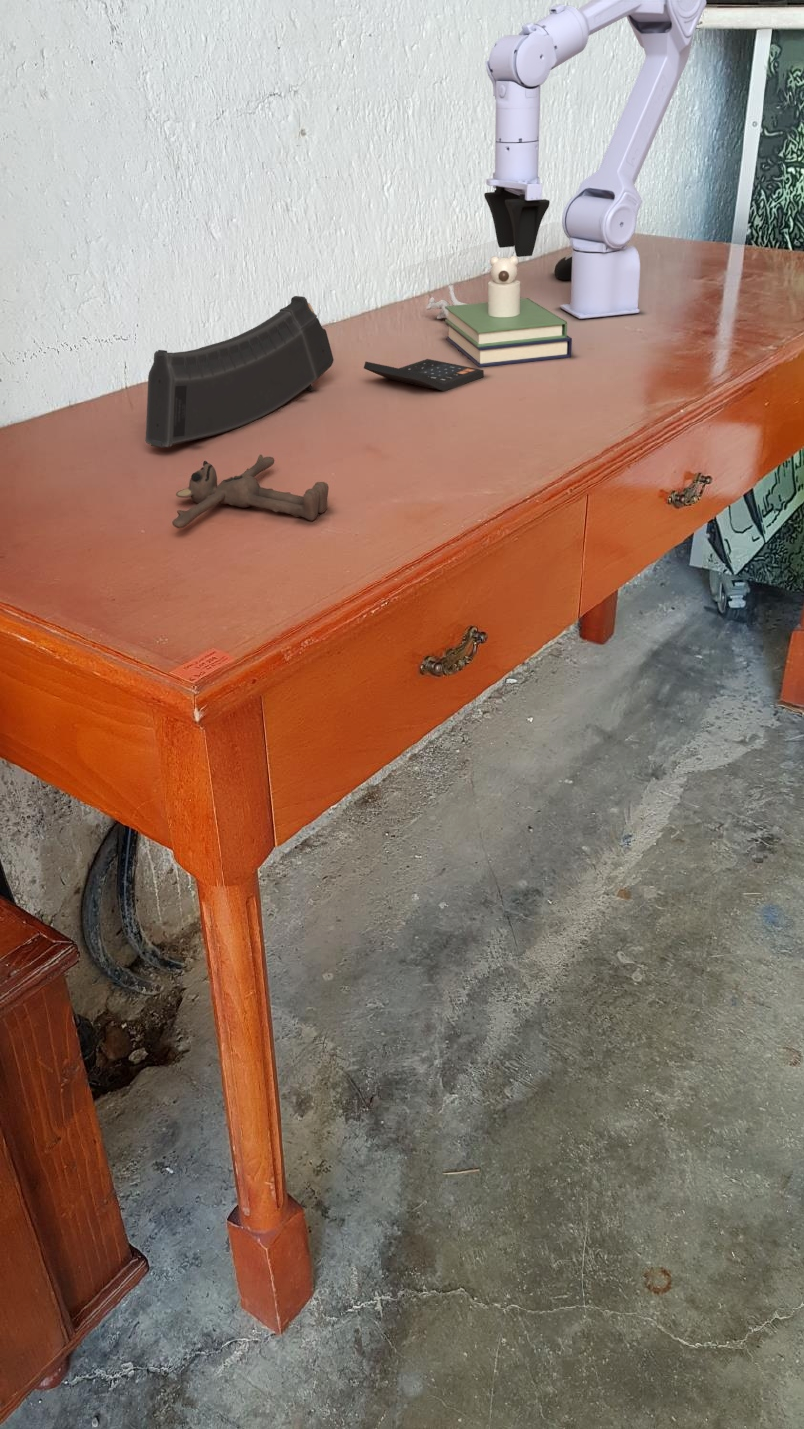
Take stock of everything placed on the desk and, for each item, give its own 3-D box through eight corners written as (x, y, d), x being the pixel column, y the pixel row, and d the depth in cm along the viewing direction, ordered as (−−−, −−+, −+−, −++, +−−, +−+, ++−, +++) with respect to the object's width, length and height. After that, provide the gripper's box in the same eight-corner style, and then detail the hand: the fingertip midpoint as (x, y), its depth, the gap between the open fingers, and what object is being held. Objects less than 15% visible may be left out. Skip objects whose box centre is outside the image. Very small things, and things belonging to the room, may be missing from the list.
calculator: (483, 376, 142) (483, 352, 141) (420, 399, 135) (420, 374, 134) (427, 365, 148) (426, 341, 146) (364, 386, 141) (363, 362, 139)
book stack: (531, 330, 161) (531, 297, 159) (571, 357, 148) (572, 322, 146) (445, 339, 159) (444, 306, 157) (478, 367, 146) (478, 332, 144)
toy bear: (488, 310, 154) (488, 253, 150) (520, 310, 153) (521, 252, 149) (487, 318, 150) (487, 259, 146) (519, 317, 149) (520, 258, 146)
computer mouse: (630, 279, 187) (631, 253, 185) (557, 282, 188) (557, 256, 186) (623, 270, 194) (624, 245, 192) (552, 273, 194) (553, 248, 192)
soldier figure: (458, 321, 172) (512, 306, 162) (446, 349, 171) (500, 335, 161) (422, 289, 167) (476, 271, 158) (410, 317, 166) (462, 301, 157)
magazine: (140, 379, 114) (304, 237, 130) (116, 376, 116) (281, 236, 131) (195, 517, 126) (339, 372, 142) (173, 512, 128) (317, 369, 143)
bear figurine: (274, 521, 97) (128, 488, 101) (275, 567, 99) (132, 533, 103) (361, 453, 111) (229, 426, 115) (360, 494, 113) (231, 467, 117)
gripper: (471, 138, 155) (471, 245, 162) (505, 147, 143) (503, 262, 150) (521, 135, 156) (519, 241, 163) (558, 144, 144) (554, 258, 151)
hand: (515, 251), depth 157 cm, fingers open, 7 cm apart
